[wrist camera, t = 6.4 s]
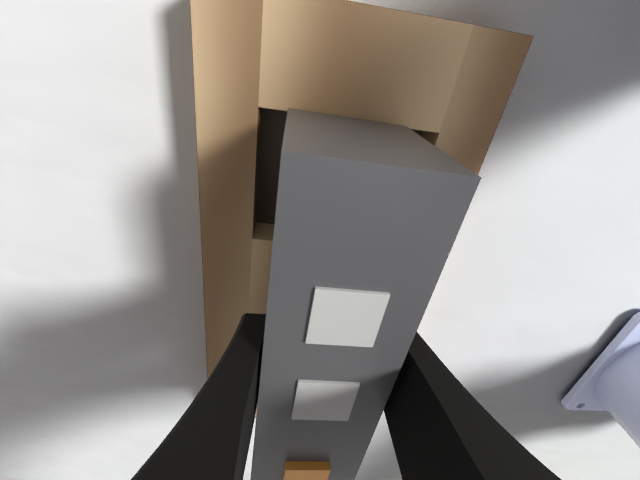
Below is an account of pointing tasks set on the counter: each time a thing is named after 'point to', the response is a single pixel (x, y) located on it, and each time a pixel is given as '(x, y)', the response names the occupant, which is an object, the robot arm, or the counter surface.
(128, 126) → the counter surface
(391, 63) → the oak keyhole board
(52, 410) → the counter surface
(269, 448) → the power strip
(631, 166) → the counter surface
